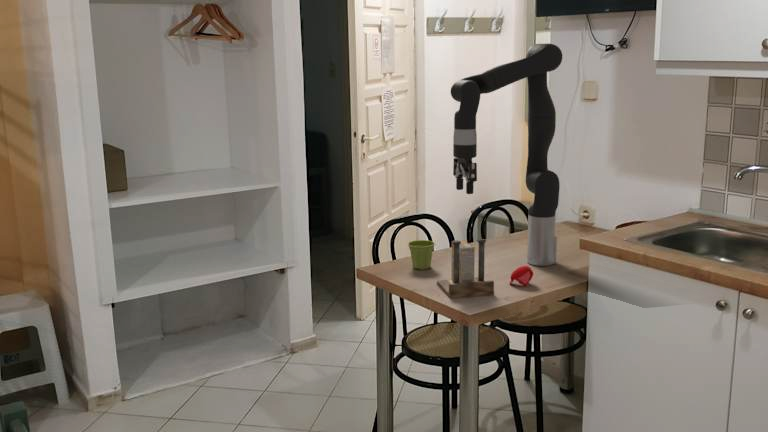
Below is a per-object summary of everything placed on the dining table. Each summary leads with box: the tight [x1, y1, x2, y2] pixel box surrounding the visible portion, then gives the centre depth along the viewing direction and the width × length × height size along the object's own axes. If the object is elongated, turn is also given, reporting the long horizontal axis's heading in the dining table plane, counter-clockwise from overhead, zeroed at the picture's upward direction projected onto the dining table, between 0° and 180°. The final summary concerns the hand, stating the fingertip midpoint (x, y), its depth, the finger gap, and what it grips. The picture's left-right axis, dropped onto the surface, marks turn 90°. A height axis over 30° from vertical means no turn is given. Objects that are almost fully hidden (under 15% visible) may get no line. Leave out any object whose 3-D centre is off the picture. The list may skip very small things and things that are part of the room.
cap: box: [509, 265, 534, 287], centre depth 241 cm, size 8×6×6 cm
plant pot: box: [407, 239, 436, 271], centre depth 262 cm, size 9×9×9 cm
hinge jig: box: [436, 238, 495, 299], centre depth 236 cm, size 14×15×17 cm
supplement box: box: [450, 240, 476, 283], centre depth 238 cm, size 8×5×13 cm, turn 17°
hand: (464, 191), depth 248 cm, fingers open, 8 cm apart
